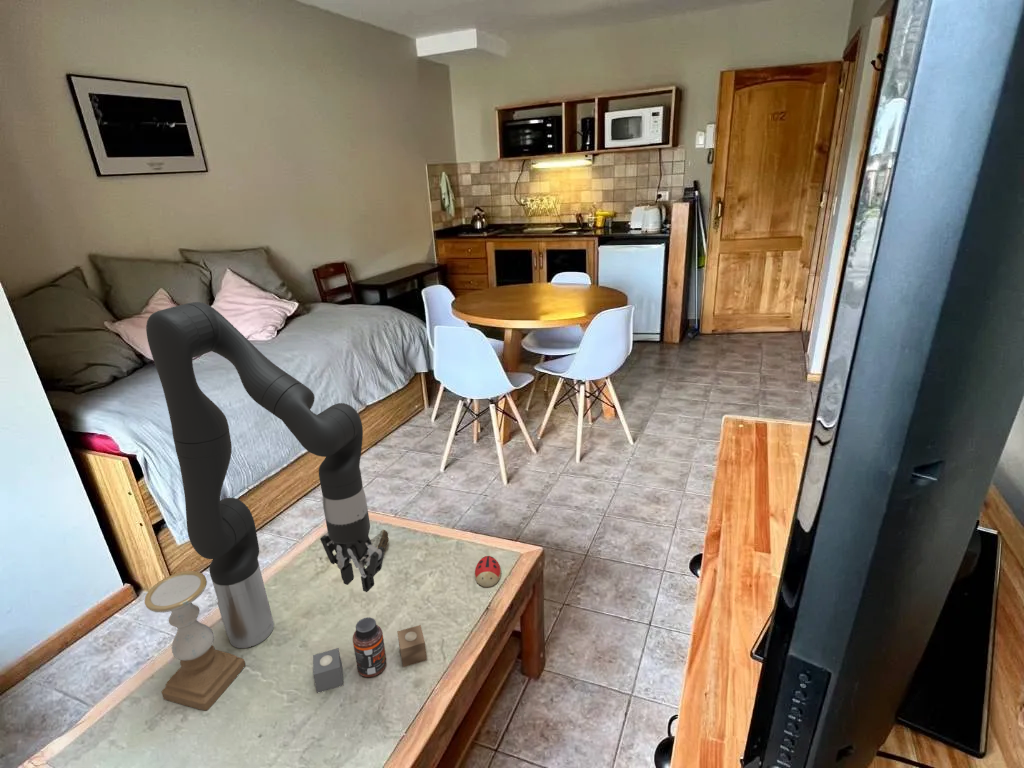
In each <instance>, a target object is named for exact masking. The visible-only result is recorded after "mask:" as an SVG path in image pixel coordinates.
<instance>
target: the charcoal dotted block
mask: <svg viewBox="0 0 1024 768" xmlns="http://www.w3.org/2000/svg"><path fill="white" fill-rule="evenodd" d="M339 648H340V647H336V648H333V649H330V650H326V651H322V652H319V653H315V654H312V676H313V680H314V684H315V689H316V693H317V694H319V693H318V692H320V693H323V692H325V691H326V692H327V691H329V690H332V689H336V688H339V686H340V687H343V686H344V676H343V675H344V674H343V673H344V672H343V664H342V663H343V661H342V658H341V653H340V649H339ZM342 685H343V686H342ZM322 691H323V692H322Z"/></svg>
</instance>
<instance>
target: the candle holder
mask: <svg viewBox="0 0 1024 768" xmlns="http://www.w3.org/2000/svg"><path fill="white" fill-rule="evenodd" d="M207 583H208V581H207V577H206V575H205V574H203V573H202V572H200V571H197V570H196V571H195V570H186V571H181V572H178V573H173V574H171V575H169V576H166V577H165V578H162V579H161V580H160V581H158V582H157V583H155V584H154V585H153V586H152V587H151V588H150V589H148V592H147V593H146V595H145V597H144V605H145V607H146V608H147V609H148V610H149V611H151V612H154V613H169V612H170V613H171V614H170V616H169V617H168V623H169V625H170V626H173V627H175V628H177V631H176V634H175V636H174V638H173V640H172V644H171V653H172V655H173V657H174V658H176V660H178V661H179V664H180V667H179V668H178V670H177V671H176V672H175V673H174V674H173V675H172V676H170V678H169V679H168V680H167V681H166V683H165V687H164V688H163V689H162V691H161V695H162V698H163V700H165V701H168V702H171V703H176V704H179V705H182V706H186V707H190V708H193V709H196V710H200V711H205V712H206V711H209V709H210V708H211V707H212V706H213V705H214V704H215V703H216V702H217V701H218V700H219V699H220V697H221V696H222V695H223V694H224V692H225V691H226V690H227V689H228V688H229V687H230V685H231V684H232V683H233V682H234V681H235V680H236V679H237V677H238V676H239V675H240V674H241V673H242V671H243V670H244V669H243V667H244V666H245V664H246V662H245V659H244V658H242V657H239V656H237V655H235V654H233V653H229V652H227V651H222V650H219V649H215V646H214V645H213V644H214V641H215V633H214V631H213V630H212V629H211V627H210V626H208V624H205V623H202V622H200V621H199V620H198V617H199V614H200V611H201V610H200V607H199V606H198V605H196V604H194V603H193V602H194V601H196V600H197V599H198V598H199V597H200V596H202V594H203V593H204V592H205V590H206V588H207ZM245 667H246V666H245ZM242 669H243V670H242ZM241 670H242V671H241ZM240 672H241V673H240ZM239 673H240V674H239ZM238 674H239V675H238ZM237 675H238V676H237ZM234 679H235V680H234Z"/></svg>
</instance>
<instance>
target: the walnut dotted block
mask: <svg viewBox="0 0 1024 768" xmlns="http://www.w3.org/2000/svg"><path fill="white" fill-rule="evenodd" d="M396 633H397V640H398V645H399V652H400V658H401V662H402V668H405V667H409V666H412V665H415V664H419V663H423V662H425V661H428V657H427V648H426V640H425V637H424V632H423V629H422V625H421V624H419V625H416V626H412V627H408V628H404V629H401V630H397V632H396Z"/></svg>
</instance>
